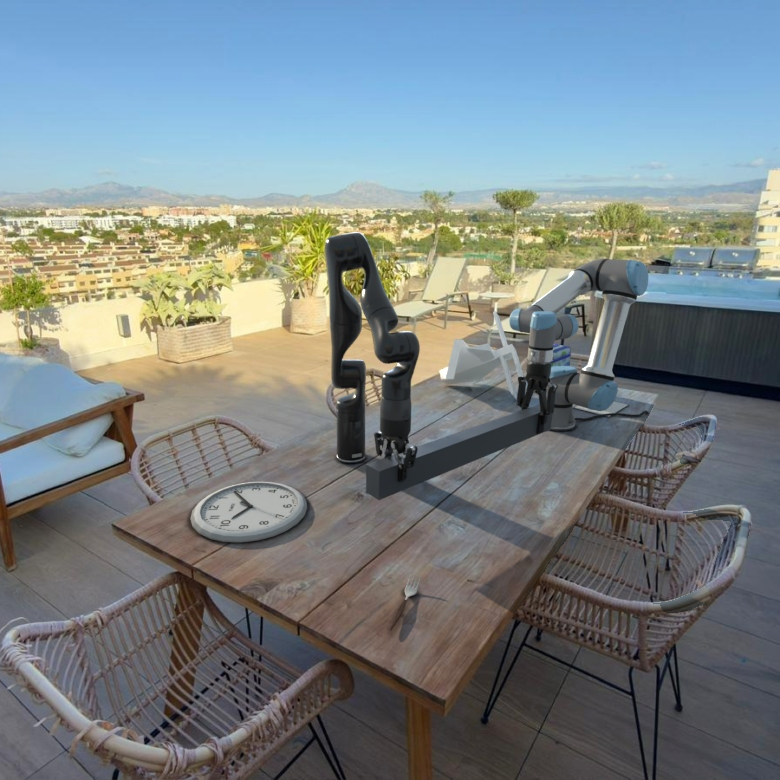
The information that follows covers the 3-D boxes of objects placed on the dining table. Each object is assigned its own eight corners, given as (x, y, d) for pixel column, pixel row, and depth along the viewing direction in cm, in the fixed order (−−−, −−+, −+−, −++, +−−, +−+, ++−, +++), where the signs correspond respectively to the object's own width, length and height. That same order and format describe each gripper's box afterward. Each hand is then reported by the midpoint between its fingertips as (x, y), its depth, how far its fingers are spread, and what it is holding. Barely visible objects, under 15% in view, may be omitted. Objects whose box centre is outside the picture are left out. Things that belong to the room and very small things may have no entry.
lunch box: (542, 396, 239) (547, 351, 232) (522, 391, 246) (526, 347, 240) (570, 385, 256) (575, 343, 250) (550, 380, 263) (554, 339, 257)
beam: (537, 425, 177) (540, 403, 175) (550, 429, 174) (553, 407, 171) (365, 492, 130) (366, 464, 128) (378, 500, 126) (379, 471, 124)
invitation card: (608, 416, 214) (573, 407, 224) (608, 416, 214) (573, 408, 224) (628, 404, 229) (594, 396, 238) (628, 405, 229) (594, 397, 238)
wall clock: (302, 534, 126) (174, 538, 123) (303, 540, 126) (175, 544, 124) (310, 477, 154) (206, 479, 152) (310, 482, 155) (206, 484, 152)
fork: (383, 631, 98) (383, 622, 98) (409, 580, 113) (410, 572, 112) (396, 635, 98) (396, 626, 97) (421, 583, 112) (421, 575, 111)
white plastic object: (461, 429, 252) (437, 405, 227) (444, 352, 274) (420, 323, 250) (535, 404, 240) (518, 377, 215) (510, 326, 262) (492, 293, 237)
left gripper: (365, 409, 129) (365, 471, 134) (404, 426, 119) (402, 492, 124) (388, 402, 134) (387, 463, 139) (427, 418, 124) (424, 482, 129)
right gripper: (508, 357, 168) (503, 425, 175) (557, 369, 155) (549, 441, 162) (522, 354, 173) (516, 420, 180) (571, 365, 159) (563, 436, 166)
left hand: (394, 476), depth 132 cm, fingers closed on beam, 5 cm apart
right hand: (532, 430), depth 171 cm, fingers closed on beam, 5 cm apart
